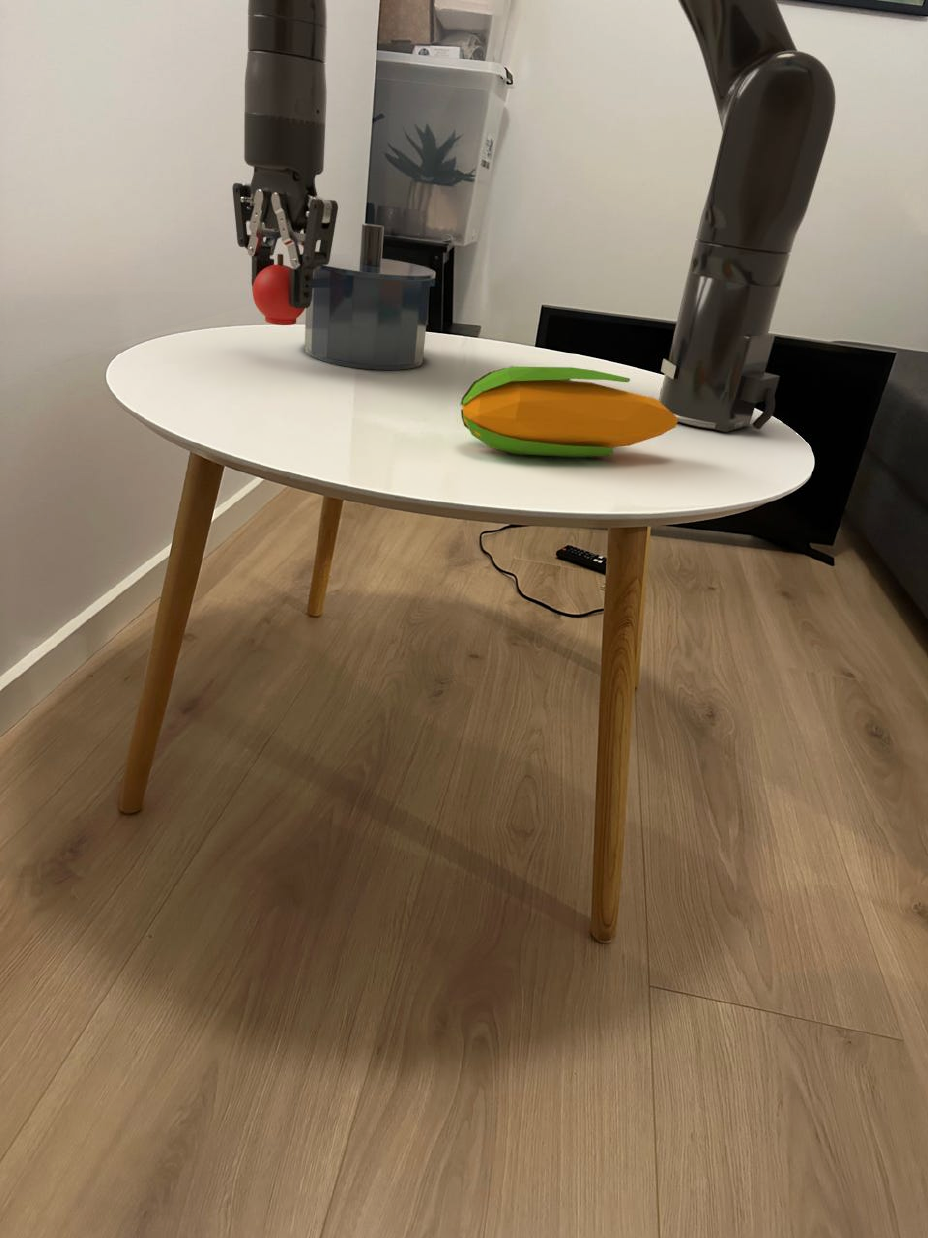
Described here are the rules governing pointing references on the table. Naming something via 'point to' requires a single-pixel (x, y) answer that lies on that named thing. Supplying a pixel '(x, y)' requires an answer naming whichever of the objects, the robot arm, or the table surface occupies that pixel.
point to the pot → (367, 321)
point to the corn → (559, 412)
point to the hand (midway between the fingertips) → (280, 300)
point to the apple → (275, 294)
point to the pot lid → (375, 261)
